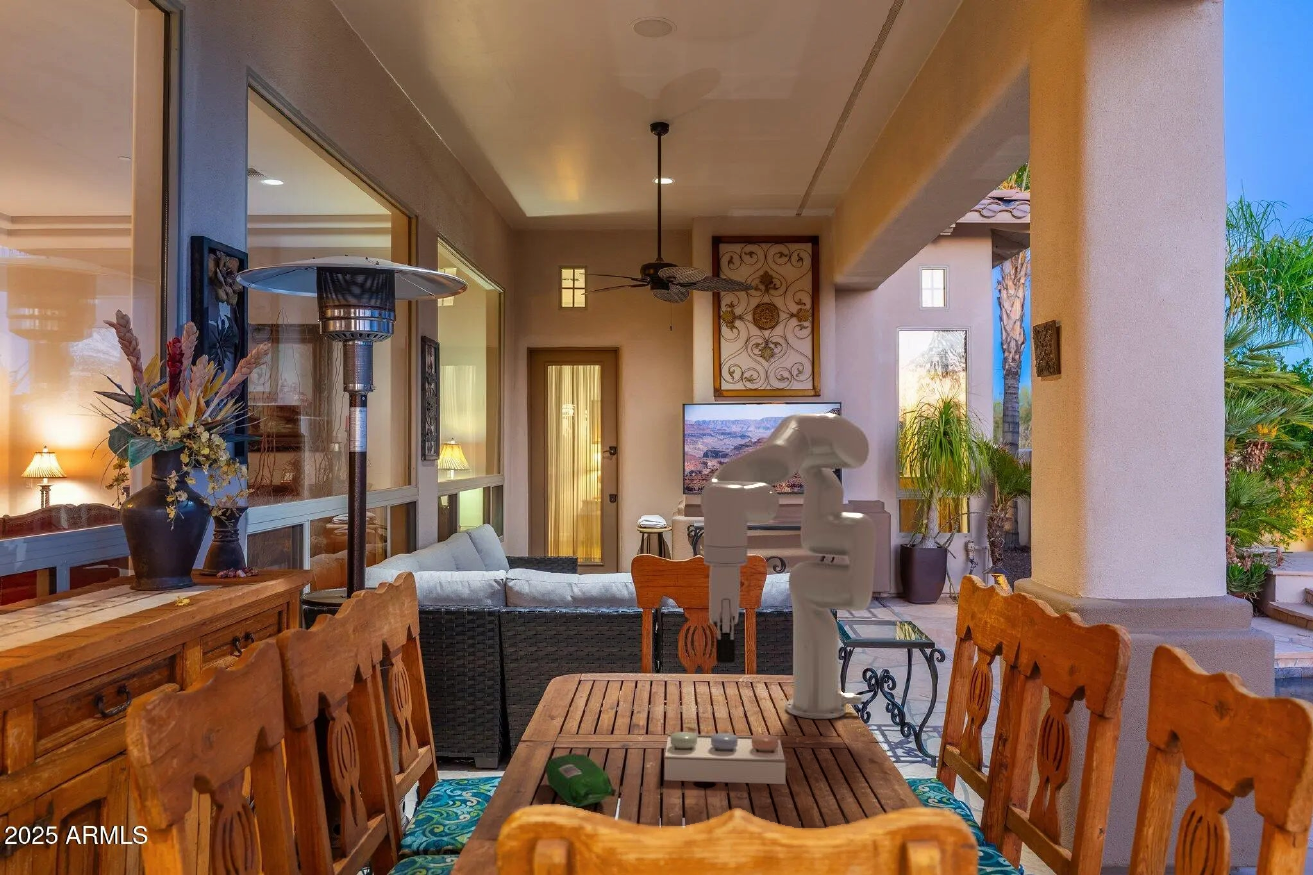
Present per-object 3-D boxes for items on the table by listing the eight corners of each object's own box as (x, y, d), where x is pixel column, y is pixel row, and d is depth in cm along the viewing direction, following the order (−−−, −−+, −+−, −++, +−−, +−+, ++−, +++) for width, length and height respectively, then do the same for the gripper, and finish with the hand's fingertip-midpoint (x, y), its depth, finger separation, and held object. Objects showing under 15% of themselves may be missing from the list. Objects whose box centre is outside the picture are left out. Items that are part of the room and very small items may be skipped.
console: (779, 758, 152) (779, 736, 152) (785, 783, 140) (785, 760, 140) (668, 754, 153) (668, 733, 153) (664, 780, 141) (664, 757, 141)
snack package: (573, 820, 126) (574, 784, 126) (540, 782, 140) (541, 750, 140) (617, 812, 129) (618, 777, 129) (581, 776, 143) (581, 745, 143)
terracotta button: (777, 755, 148) (777, 734, 148) (779, 764, 143) (779, 743, 143) (750, 754, 148) (750, 733, 148) (752, 764, 144) (752, 742, 144)
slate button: (737, 754, 148) (737, 733, 148) (737, 763, 144) (738, 742, 144) (710, 753, 149) (710, 732, 149) (710, 762, 144) (711, 741, 144)
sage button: (697, 752, 149) (697, 732, 149) (696, 762, 144) (696, 741, 144) (671, 752, 149) (671, 731, 149) (669, 761, 145) (670, 740, 145)
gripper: (704, 550, 155) (704, 650, 155) (703, 561, 140) (703, 672, 140) (745, 550, 154) (745, 651, 154) (749, 561, 139) (749, 673, 139)
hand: (725, 661), depth 147 cm, fingers closed
